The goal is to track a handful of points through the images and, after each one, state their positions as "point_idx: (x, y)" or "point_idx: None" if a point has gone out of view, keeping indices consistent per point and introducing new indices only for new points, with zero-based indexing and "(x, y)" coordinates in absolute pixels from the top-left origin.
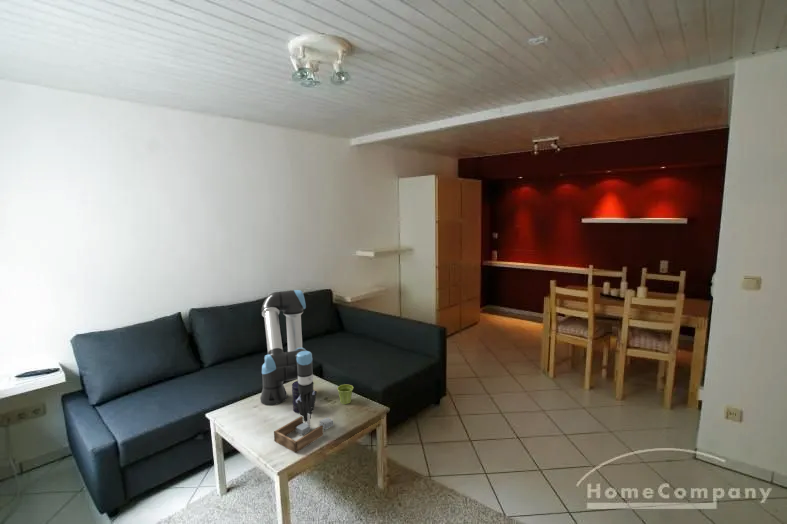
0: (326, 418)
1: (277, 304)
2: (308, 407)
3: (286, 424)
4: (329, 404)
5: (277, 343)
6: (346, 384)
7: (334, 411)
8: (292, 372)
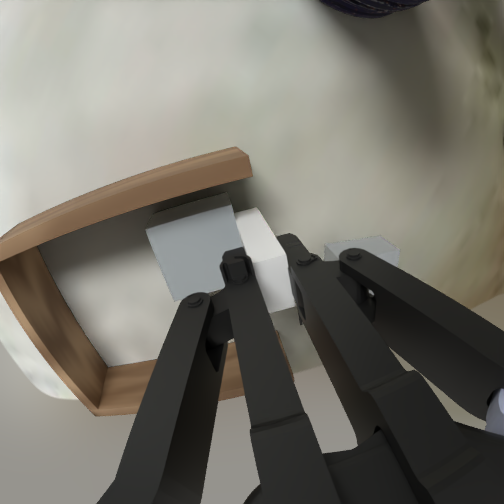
0: (386, 261)
1: None
2: (318, 343)
3: (62, 216)
4: (477, 82)
5: None
6: None
7: (460, 165)
8: None
